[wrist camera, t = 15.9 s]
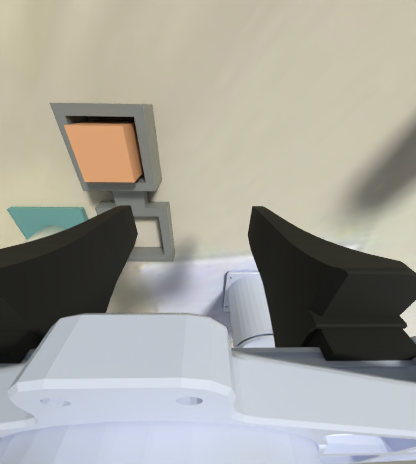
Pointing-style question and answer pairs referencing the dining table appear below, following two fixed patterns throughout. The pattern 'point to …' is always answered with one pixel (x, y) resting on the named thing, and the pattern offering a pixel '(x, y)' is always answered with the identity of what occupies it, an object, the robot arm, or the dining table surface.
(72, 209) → the mat
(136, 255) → the housing
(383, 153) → the dining table surface
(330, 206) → the dining table surface
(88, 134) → the orange cube
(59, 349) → the robot arm
